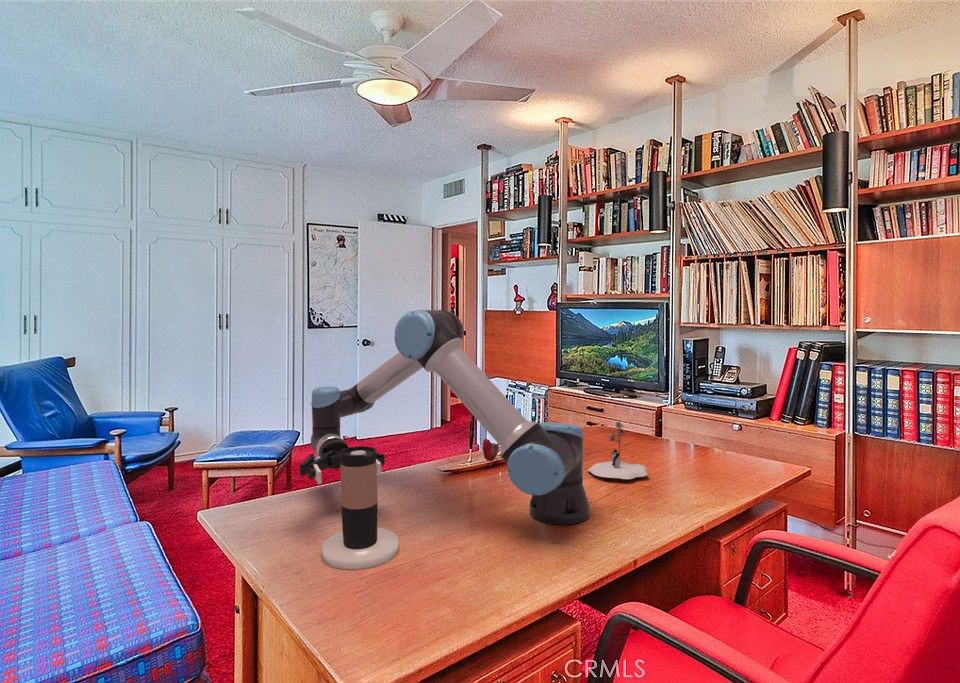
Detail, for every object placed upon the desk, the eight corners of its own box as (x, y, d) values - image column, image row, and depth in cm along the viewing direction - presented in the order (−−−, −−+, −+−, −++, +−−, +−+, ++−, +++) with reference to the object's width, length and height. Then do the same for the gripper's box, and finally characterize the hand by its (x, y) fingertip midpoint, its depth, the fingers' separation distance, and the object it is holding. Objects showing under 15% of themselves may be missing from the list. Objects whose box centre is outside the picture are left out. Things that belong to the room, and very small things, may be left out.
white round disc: (413, 544, 117) (413, 535, 117) (364, 576, 103) (363, 566, 103) (358, 530, 125) (358, 522, 125) (305, 558, 111) (305, 549, 111)
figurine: (641, 485, 152) (642, 428, 153) (580, 476, 161) (581, 423, 162) (656, 473, 170) (656, 422, 170) (600, 466, 179) (601, 417, 179)
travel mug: (345, 535, 117) (343, 446, 116) (380, 533, 118) (378, 445, 117) (339, 550, 110) (336, 456, 109) (376, 549, 110) (374, 454, 109)
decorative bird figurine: (479, 471, 170) (478, 440, 169) (497, 456, 186) (497, 428, 185) (487, 472, 169) (487, 441, 168) (505, 457, 185) (505, 429, 184)
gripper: (379, 459, 146) (403, 481, 127) (283, 472, 135) (293, 498, 116) (379, 432, 145) (402, 450, 126) (282, 442, 134) (292, 464, 115)
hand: (350, 473), depth 121 cm, fingers open, 13 cm apart
